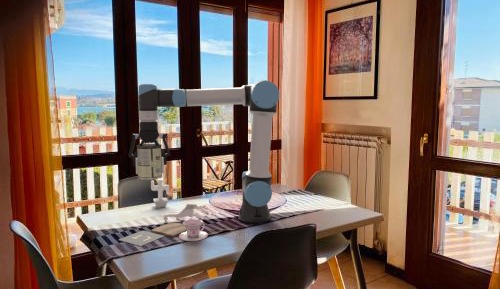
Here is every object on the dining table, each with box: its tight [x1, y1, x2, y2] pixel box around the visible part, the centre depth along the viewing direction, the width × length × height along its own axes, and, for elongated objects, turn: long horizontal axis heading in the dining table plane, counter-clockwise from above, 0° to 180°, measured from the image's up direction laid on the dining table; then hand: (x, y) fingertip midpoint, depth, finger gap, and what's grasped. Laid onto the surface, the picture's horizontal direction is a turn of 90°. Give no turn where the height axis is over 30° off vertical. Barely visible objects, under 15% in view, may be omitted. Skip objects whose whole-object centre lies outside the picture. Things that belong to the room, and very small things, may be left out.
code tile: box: [118, 230, 165, 247], centre depth 152 cm, size 13×13×1 cm
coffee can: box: [136, 143, 163, 181], centre depth 158 cm, size 10×10×14 cm
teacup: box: [178, 219, 208, 242], centre depth 154 cm, size 12×12×6 cm
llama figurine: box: [162, 202, 210, 223], centre depth 175 cm, size 2×12×20 cm
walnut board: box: [150, 221, 187, 238], centre depth 162 cm, size 13×13×1 cm
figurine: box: [150, 178, 170, 208], centre depth 199 cm, size 7×9×15 cm
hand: (150, 172), depth 159 cm, fingers closed on coffee can, 10 cm apart
